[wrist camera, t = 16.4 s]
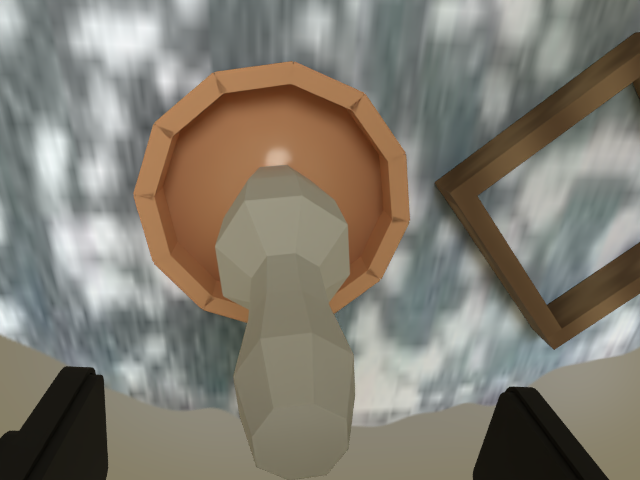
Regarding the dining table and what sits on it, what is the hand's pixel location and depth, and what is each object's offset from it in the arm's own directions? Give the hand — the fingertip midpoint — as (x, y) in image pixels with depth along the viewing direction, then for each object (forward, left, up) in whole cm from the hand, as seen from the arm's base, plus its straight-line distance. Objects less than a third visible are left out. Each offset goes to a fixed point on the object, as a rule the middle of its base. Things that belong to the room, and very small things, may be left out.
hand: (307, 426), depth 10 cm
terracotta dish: (0, 0, -23) cm, 23 cm away
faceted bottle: (0, 0, -22) cm, 22 cm away
